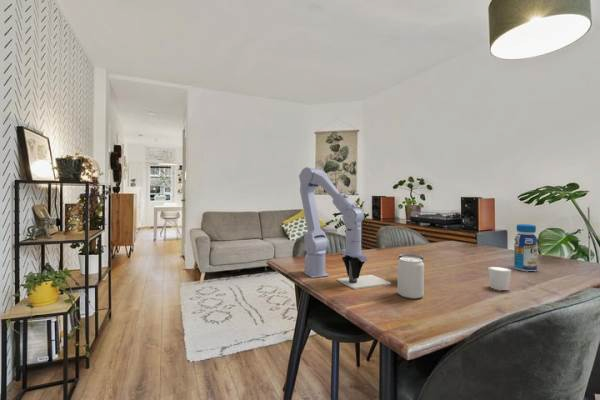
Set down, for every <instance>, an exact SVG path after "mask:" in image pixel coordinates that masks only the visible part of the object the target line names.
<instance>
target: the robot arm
mask: <svg viewBox="0 0 600 400" xmlns="http://www.w3.org/2000/svg"><path fill="white" fill-rule="evenodd" d="M298 177H299V183H300V185H299V193H300V196H301V204H302V208H303V214H304V219H305V225H306V230H307V231H306V233H305V235H304V236H303V240H304V242H303V248H304V250H305V253H306V254H305V256H304V270H302V273H303V274H305V275H306V276H308V277H309V278H311V279H314V278H321V277H322V278H323V277H329V276H330V274H328V273H327V272H326V253H327V250H328V249H329V247H330V241H329V238H328V237H327V235H326V232H325V231H324V230H323V229H322V228H321V223H320V218H319V213H318V209H317V205H316V199H315V194H314V192H315V191H316V190H317V189H318V187H321V188H322V189H323V190H324V191H325V192H326V193H327V194H328V195H329V196H330V197H331V198H332V204H333V205H334V206H335V207H336V209H337V210H338V211H339V213H340V214H341V215H342V221H343V222H344V227H345V248H341V249H340V254H341V255H343V256H342V257H341V259H342V261H343V263H344V266H345V269H346V270H345V271H346V273H347V276H348V277H349V261H350V264H351V267H352V276H353V278H354V279H356V278H359V276H361V275H360V274H361V271H362V268H363V266H364V264H365V262H368V256H367V255H366V254H364V253H363V252H362V222H363V221H364V219H365V213H364V210H363V209H362V208H361V207H357V206H356V204H355V203H353V201H351V199H349V195H348V194H346V193H344V192H341V193H340V191H339V190H338V189H337V187H336V186H335V184H334V183H333V182H332V181H331V179H330V177H328V173H327V172H325V170H324V169H322V168H313V167H304V168H303V169H301V171H300V173H299V175H298Z"/></svg>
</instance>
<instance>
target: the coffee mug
mask: <svg viewBox="0 0 600 400" xmlns="http://www.w3.org/2000/svg"><path fill="white" fill-rule="evenodd" d="M401 257H415V258H420V259H422V262H423V263H424V256H423V255H422V254H416V253H409V252H408V253H400V254H398V261H399V260H400V259H399V258H401Z"/></svg>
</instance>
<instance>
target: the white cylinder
mask: <svg viewBox="0 0 600 400" xmlns="http://www.w3.org/2000/svg"><path fill="white" fill-rule="evenodd" d="M487 269H488V279H489V280H488V281H489V288H490V287H491V288H490V289H492V288H494V289H493V290H495V289H498V290H497V291H501V290H508V291H510V284H511V277H512V276H511V275H512V269H510V268H507V267H503V266H502V267H501V266H488V268H487Z"/></svg>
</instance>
